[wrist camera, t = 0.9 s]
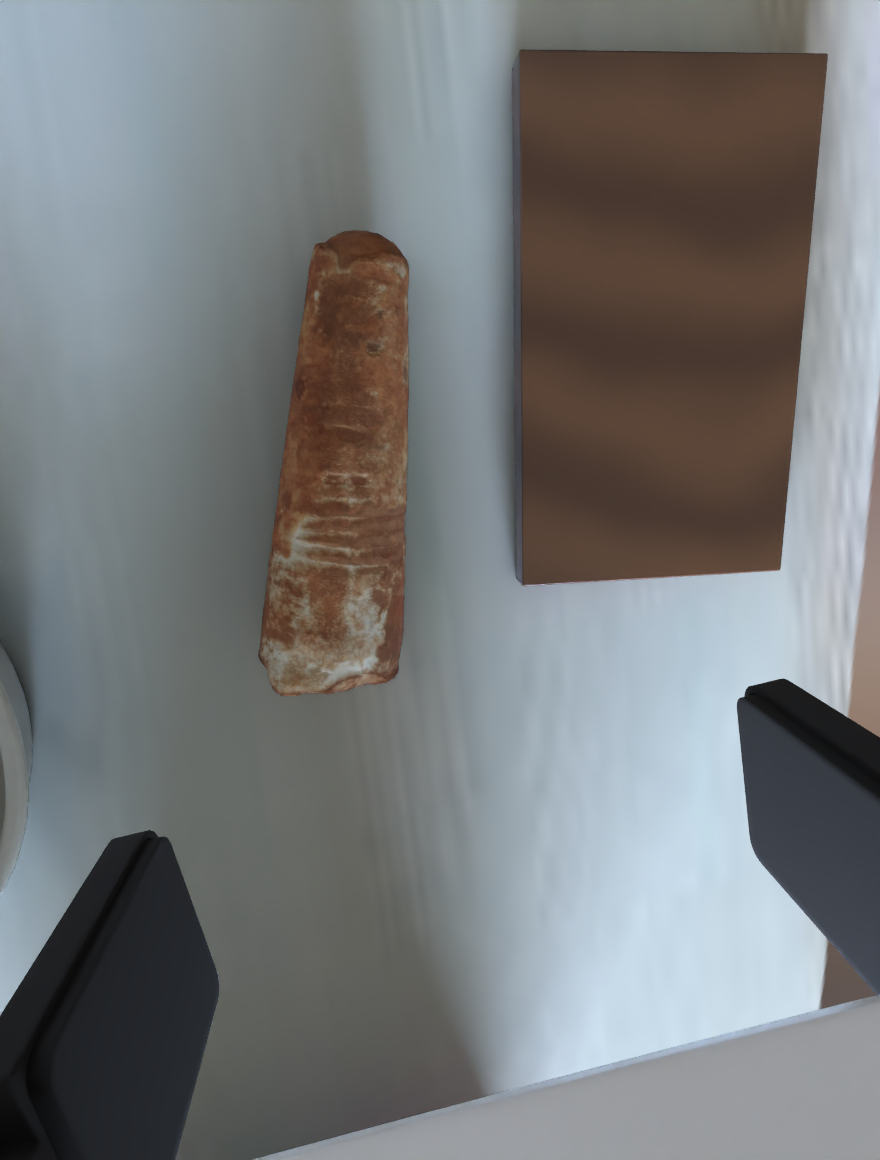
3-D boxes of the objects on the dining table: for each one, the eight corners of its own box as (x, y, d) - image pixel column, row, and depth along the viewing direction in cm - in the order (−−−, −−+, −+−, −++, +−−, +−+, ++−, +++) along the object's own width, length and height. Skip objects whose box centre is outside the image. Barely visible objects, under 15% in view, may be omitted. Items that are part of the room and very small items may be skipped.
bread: (266, 652, 32) (245, 699, 27) (305, 233, 28) (289, 189, 23) (394, 665, 33) (398, 713, 28) (450, 260, 29) (467, 223, 24)
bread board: (511, 67, 27) (519, 48, 26) (805, 71, 29) (829, 52, 27) (515, 579, 33) (522, 586, 31) (763, 564, 34) (781, 570, 32)
